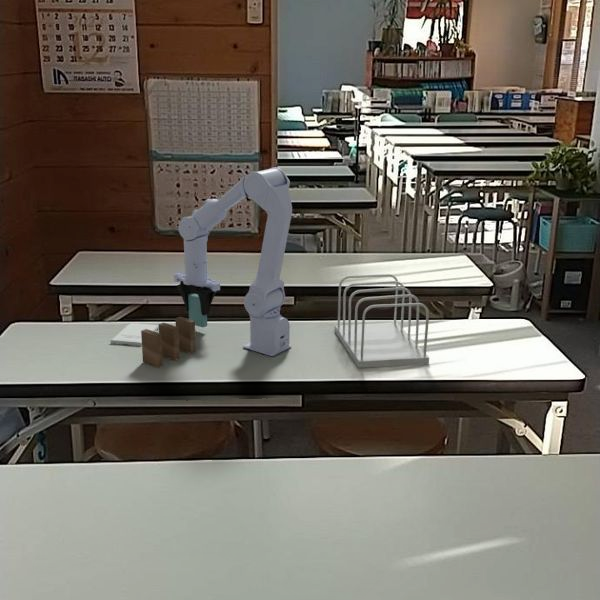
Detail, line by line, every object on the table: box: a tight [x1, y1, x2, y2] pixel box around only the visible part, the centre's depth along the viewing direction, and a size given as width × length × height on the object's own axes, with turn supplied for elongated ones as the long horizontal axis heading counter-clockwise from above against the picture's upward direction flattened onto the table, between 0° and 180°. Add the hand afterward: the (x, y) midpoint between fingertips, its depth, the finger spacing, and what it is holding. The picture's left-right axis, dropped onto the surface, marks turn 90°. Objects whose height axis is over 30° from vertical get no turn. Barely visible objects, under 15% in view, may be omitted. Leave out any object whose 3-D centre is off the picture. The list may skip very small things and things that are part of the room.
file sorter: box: [334, 273, 430, 368], centre depth 183 cm, size 25×17×16 cm
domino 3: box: [174, 316, 197, 354], centre depth 180 cm, size 2×5×8 cm, turn 54°
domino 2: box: [158, 322, 181, 361], centre depth 176 cm, size 2×5×8 cm, turn 54°
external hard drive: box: [110, 322, 159, 347], centre depth 190 cm, size 2×8×12 cm
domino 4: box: [188, 293, 208, 328], centre depth 192 cm, size 2×5×8 cm, turn 54°
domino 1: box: [141, 329, 164, 369], centre depth 172 cm, size 2×5×8 cm, turn 54°
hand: (197, 312), depth 192 cm, fingers closed on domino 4, 5 cm apart
